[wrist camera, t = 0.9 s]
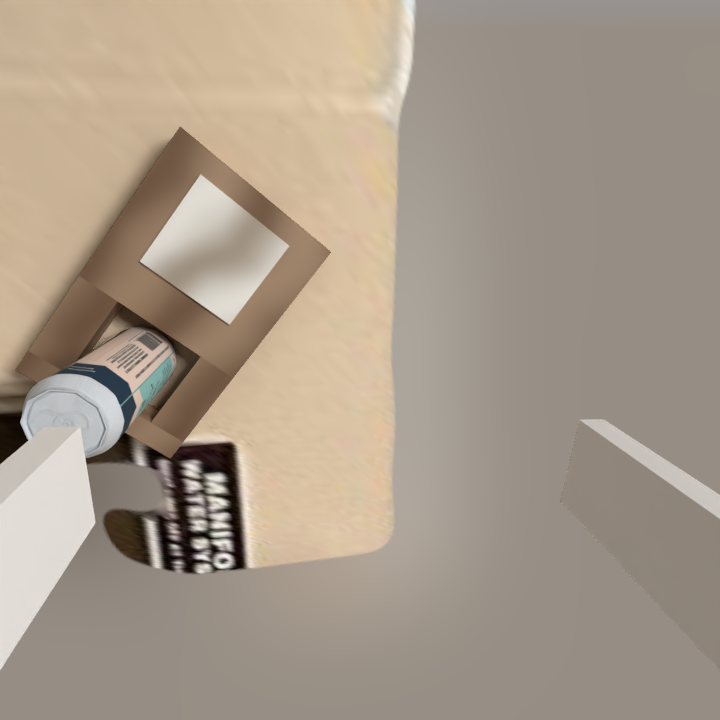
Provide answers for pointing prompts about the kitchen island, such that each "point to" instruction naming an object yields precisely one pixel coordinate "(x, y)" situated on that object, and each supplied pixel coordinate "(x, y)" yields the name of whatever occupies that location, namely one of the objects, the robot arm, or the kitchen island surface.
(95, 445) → the beer can
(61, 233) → the kitchen island surface
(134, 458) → the kitchen island surface
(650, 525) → the robot arm
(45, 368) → the pocket board
